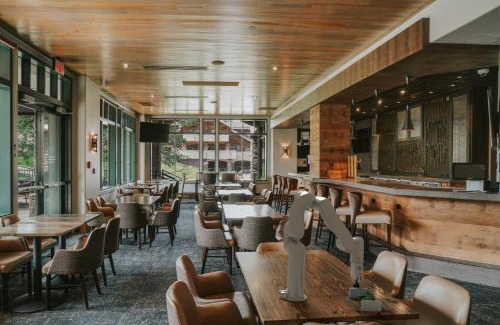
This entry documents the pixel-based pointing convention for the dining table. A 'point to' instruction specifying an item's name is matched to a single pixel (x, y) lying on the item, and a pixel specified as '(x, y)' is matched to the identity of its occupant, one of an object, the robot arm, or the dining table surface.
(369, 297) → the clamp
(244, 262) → the dining table surface
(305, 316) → the dining table surface
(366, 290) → the block
